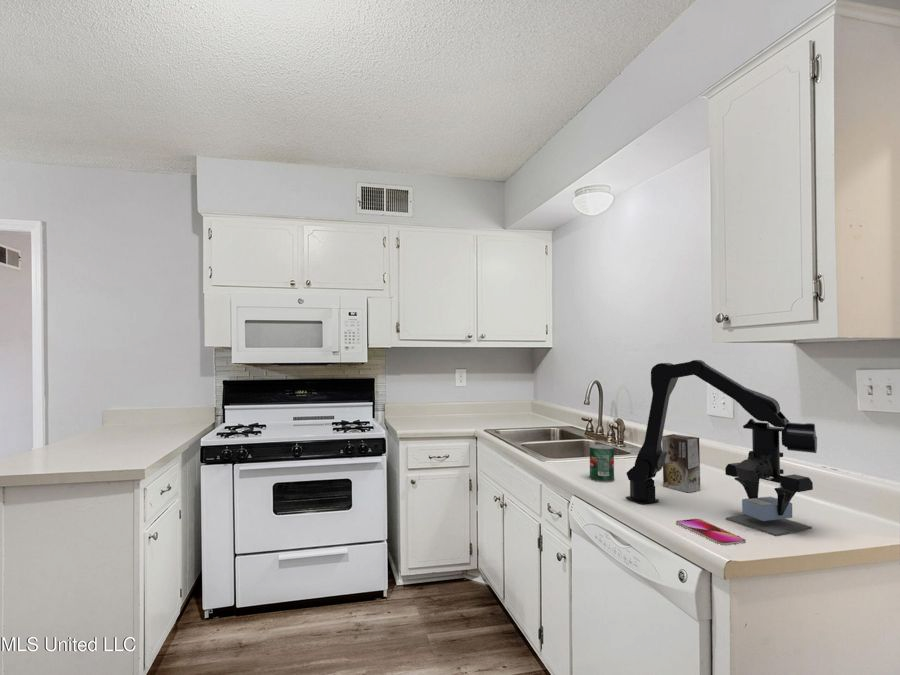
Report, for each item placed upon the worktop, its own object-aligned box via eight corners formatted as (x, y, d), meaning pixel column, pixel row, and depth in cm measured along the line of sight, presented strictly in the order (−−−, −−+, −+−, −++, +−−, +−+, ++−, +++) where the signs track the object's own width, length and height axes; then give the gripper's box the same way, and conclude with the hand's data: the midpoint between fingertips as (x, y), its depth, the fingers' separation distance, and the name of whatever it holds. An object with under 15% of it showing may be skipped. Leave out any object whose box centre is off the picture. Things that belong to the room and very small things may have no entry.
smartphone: (721, 543, 111) (673, 520, 125) (721, 548, 111) (673, 524, 125) (748, 540, 113) (698, 518, 127) (748, 545, 112) (698, 522, 127)
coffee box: (701, 490, 155) (700, 437, 156) (688, 493, 152) (687, 439, 152) (674, 483, 163) (673, 433, 164) (662, 486, 160) (661, 435, 160)
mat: (725, 519, 128) (725, 517, 128) (759, 512, 133) (759, 511, 133) (776, 536, 116) (776, 534, 116) (811, 528, 121) (811, 526, 122)
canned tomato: (585, 477, 171) (584, 444, 172) (604, 475, 174) (604, 443, 174) (598, 483, 164) (598, 449, 164) (619, 481, 166) (619, 447, 167)
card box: (770, 510, 129) (770, 496, 129) (792, 517, 123) (792, 502, 123) (742, 513, 127) (742, 498, 127) (763, 521, 121) (762, 505, 121)
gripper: (710, 444, 131) (710, 505, 130) (782, 457, 114) (783, 528, 113) (739, 441, 135) (740, 499, 135) (813, 453, 118) (814, 521, 118)
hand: (767, 511), depth 125 cm, fingers closed on card box, 6 cm apart
